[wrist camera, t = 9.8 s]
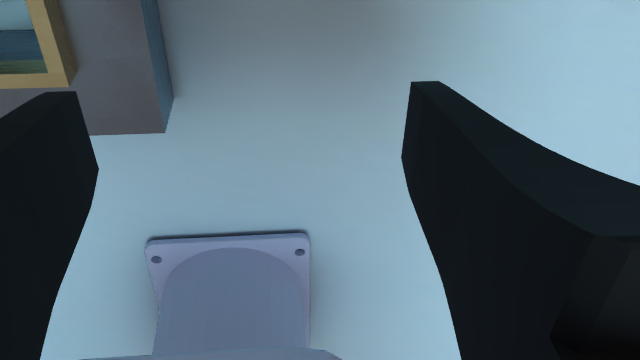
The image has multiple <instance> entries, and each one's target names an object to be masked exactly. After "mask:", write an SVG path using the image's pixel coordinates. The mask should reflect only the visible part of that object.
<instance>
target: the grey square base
mask: <svg viewBox="0 0 640 360" xmlns="http://www.w3.org/2000/svg"><path fill="white" fill-rule="evenodd" d="M25 1H26V5H27V8H28V11H29V14H30V17H31V20H32V23H33V26H34V30H15V31H0V118H1V117H3V116H4V115H6V114H8V113H9V112H11V111H12V110H14V109H16V108H17V107H19V106H20V105H22V104H24V103H26V102H27V101H29V100H31V99H32V98H34V97H36V96H38V95H40V94H42V93H45V92H58V91H76V93H77V96H78V100H79V103H80V107H81V110H82V114H83V117H84V120H85V124H86V127H87V131H88V134H89V136H90V135H119V134H149V133H165V131H166V128H167V124H168V120H169V116H170V112H171V108H172V104H173V100H174V98H173V93H172V87H171V81H170V75H169V69H168V63H167V57H166V51H165V46H164V40H163V34H162V28H161V22H160V16H159V10H158V5H157V0H25Z"/></svg>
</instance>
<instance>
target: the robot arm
mask: <svg viewBox="0 0 640 360" xmlns="http://www.w3.org/2000/svg"><path fill="white" fill-rule="evenodd" d="M401 159H402V164H403V169H404V173H405V178H406V182H407V187H408V191H409V194H410V197H411V200H412V203H413V205H414V208H415V211H416V213H417V216H418V219H419V221H420V224H421V226H422V229H423V232H424V234H425V237H426V239H427V242H428V244H429V247H430V250H431V252H432V255H433V257H434V260H435V263H436V265H437V268H438V271H439V274H440V277H441V280H442V283H443V286H444V290H445V294H446V298H447V302H448V305H449V309H450V313H451V317H452V321H453V325H454V330H455V334H456V338H457V342H458V347H459V351H460V355H461V360H640V186H639V185H636V184H633V183H630V182H627V181H624V180H621V179H618V178H615V177H613V176H610V175H607V174H605V173H602V172H599V171H597V170H594V169H591V168H589V167H587V166H584V165H582V164H579V163H577V162H575V161H573V160H571V159H568V158H566V157H564V156H562V155H560V154H558V153H556V152H554V151H551V150H549V149H547V148H545V147H543V146H542V145H540V144H538V143H536V142H534V141H532V140H531V139H529V138H527V137H525V136H524V135H522V134H520V133H518V132H517V131H515V130H513V129H512V128H510V127H508V126H507V125H505V124H504V123H502V122H500V121H499V120H497V119H496V118H494V117H493V116H491V115H490V114H488V113H487V112H485V111H484V110H482V109H481V108H479V107H478V106H476V105H475V104H473V103H472V102H470V101H469V100H467V99H466V98H465V97H463V96H462V95H460V94H459V93H457V92H456V91H454V90H453V89H451V88H450V87H448V86H446V85H445V84H443V83H441V82H439V81H421V82H411V87H410V94H409V102H408V110H407V117H406V125H405V132H404V140H403V148H402V155H401ZM98 170H99V168H98V165H97V161H96V158H95V155H94V151H93V148H92V144H91V141H90V137H89V134H88V131H87V127H86V124H85V120H84V117H83V114H82V110H81V107H80V103H79V100H78V96H77V93H76V91H58V92H45V93H42V94H40V95H38V96H36V97H34V98H32V99H31V100H29V101H27V102H26V103H24V104H22V105H20V106H19V107H17V108H16V109H14V110H12V111H11V112H9V113H8V114H6V115H4V116H3V117H1V118H0V360H40V357H41V352H42V348H43V344H44V340H45V336H46V332H47V328H48V324H49V321H50V317H51V313H52V309H53V306H54V303H55V300H56V297H57V294H58V291H59V288H60V285H61V283H62V280H63V278H64V275H65V273H66V270H67V268H68V265H69V263H70V260H71V257H72V255H73V252H74V250H75V247H76V245H77V242H78V240H79V237H80V235H81V232H82V229H83V227H84V224H85V221H86V219H87V216H88V213H89V211H90V208H91V204H92V200H93V195H94V191H95V186H96V181H97V176H98ZM297 249H303V250H300V251H299V250H297ZM144 253H145V257H146V261H147V264H148V268H149V272H150V276H151V280H152V284H153V288H154V292H155V295H156V299H157V303H158V307H159V311H160V313H159V318H158V324H157V329H156V335H155V340H154V346H153V352H152V355H143V356H127V357H112V358H96V359H81V360H342V359H340V358H338V357H337V356H335V355H333V354H331V353H329V352H327V351H325V350H317V349H309V310H310V241H309V237H308V236H307V235H306V234H304V233H289V234H268V235H248V236H227V237H207V238H186V239H166V240H152V241H149V242H147V244H146V245H145V249H144ZM154 256H159V257H160V258H156V257H154Z"/></svg>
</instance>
